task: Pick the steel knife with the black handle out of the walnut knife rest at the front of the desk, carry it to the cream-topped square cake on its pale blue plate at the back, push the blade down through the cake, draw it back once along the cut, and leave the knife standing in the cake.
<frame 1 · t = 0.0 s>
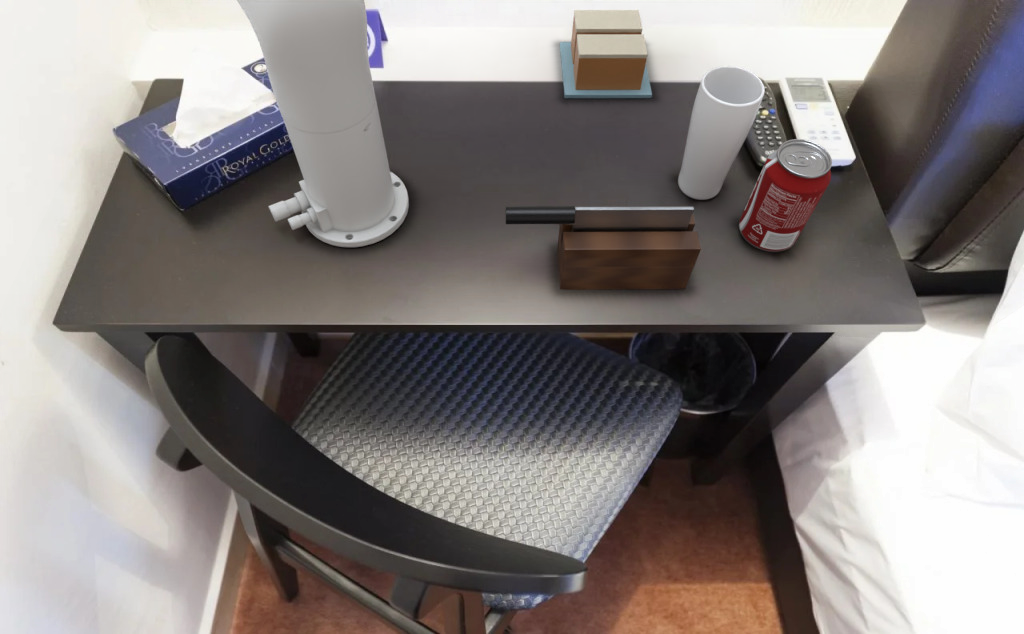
soda can: (765, 234, 79), on the table
knife: (625, 246, 72), point 4 cm above the table, touching knife rest
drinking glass: (697, 187, 83), on the table
cake: (604, 70, 95), on the table
knife rest: (620, 268, 75), on the table
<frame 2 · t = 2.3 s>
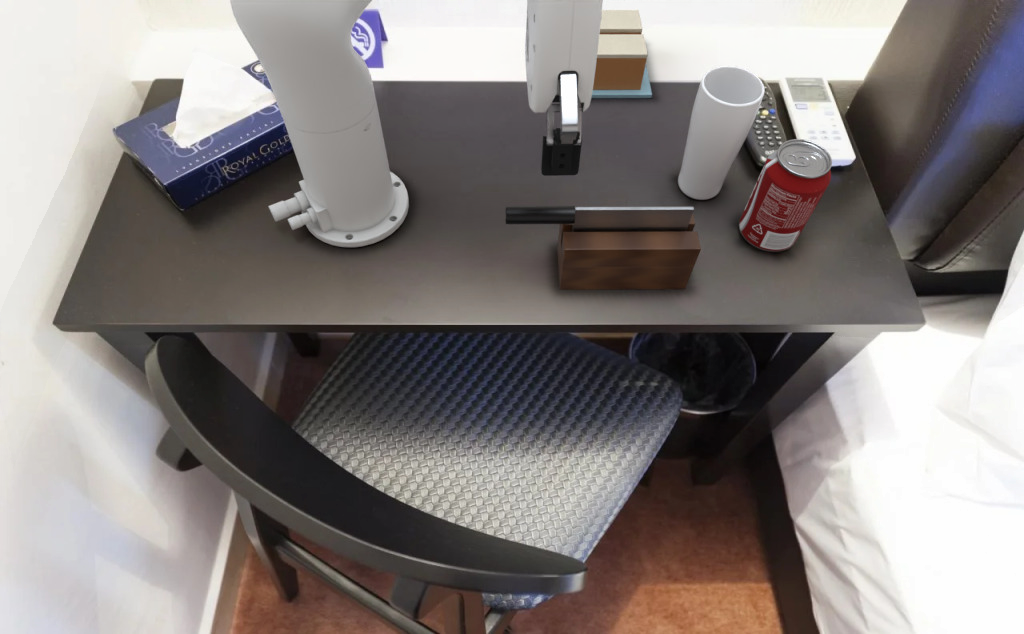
hand: (555, 135, 61), 18 cm above the table, tool pointing down, fingers open, 9 cm apart
nothing on the table moved.
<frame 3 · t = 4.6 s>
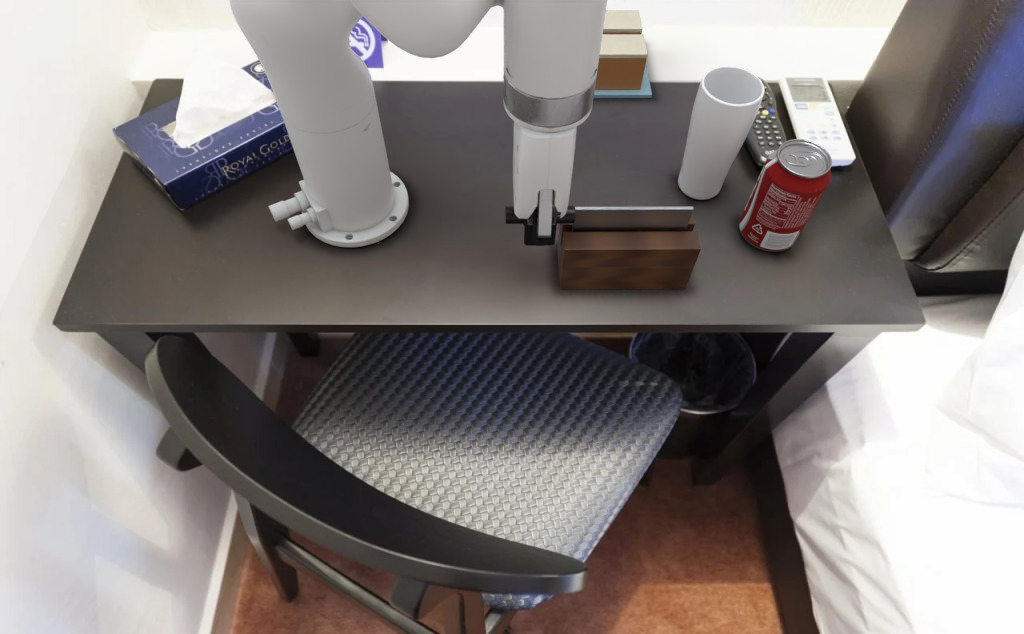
hand: (538, 233, 70), 6 cm above the table, tool pointing down, fingers closed on knife, 1 cm apart
knife: (625, 245, 72), point 4 cm above the table, touching gripper
everything else where it was.
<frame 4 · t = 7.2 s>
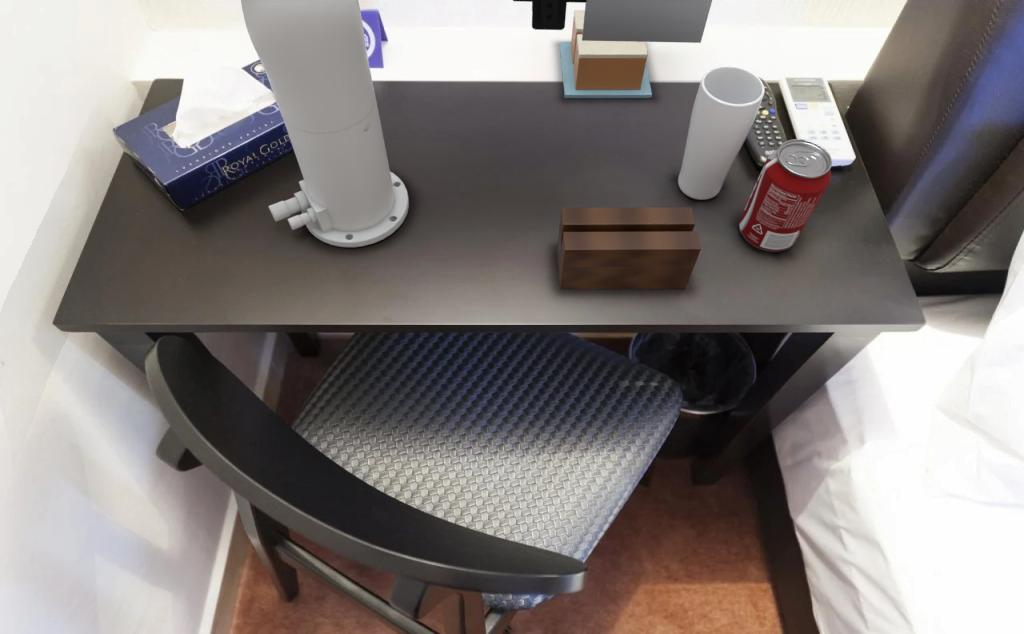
hand: (548, 19, 66), 21 cm above the table, tool pointing down, fingers closed on knife
knife: (641, 40, 67), point 19 cm above the table, touching gripper
everything else where it was.
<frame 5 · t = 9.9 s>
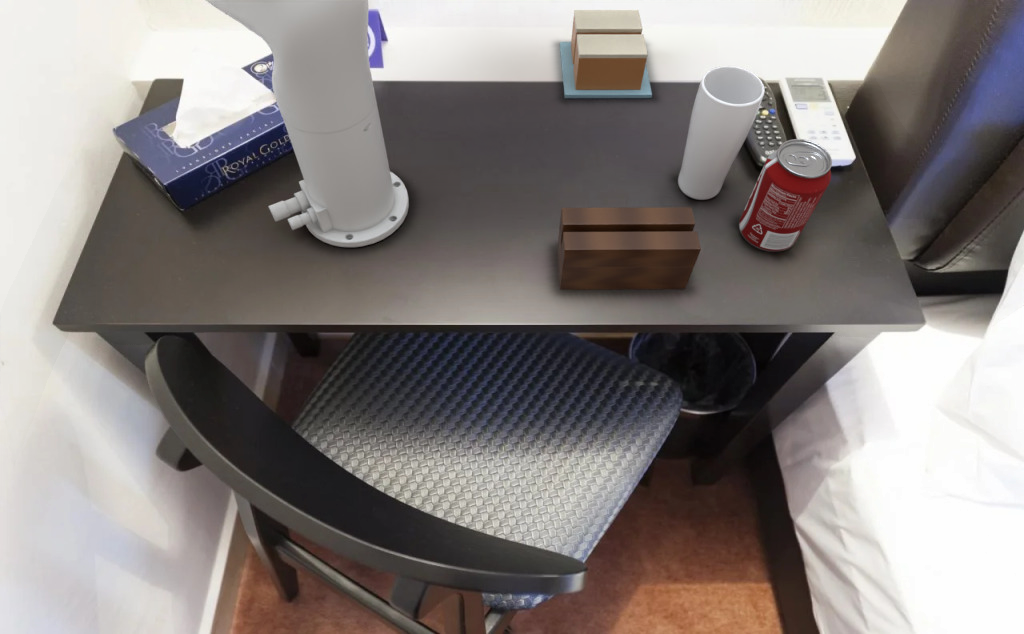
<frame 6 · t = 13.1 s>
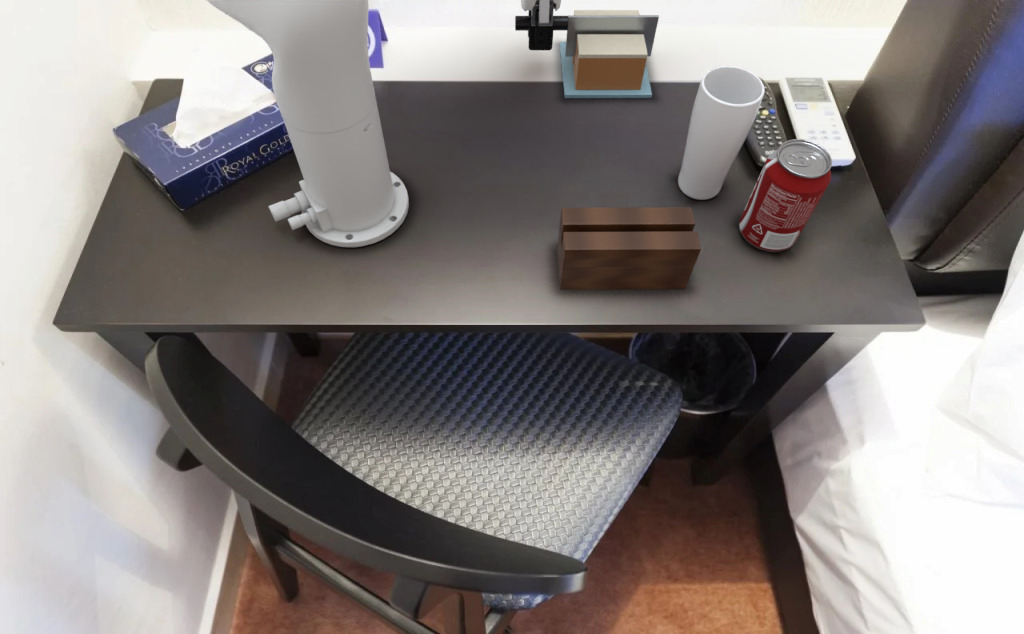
hand: (539, 42, 91), 4 cm above the table, tool pointing down, fingers closed on knife, 1 cm apart
knife: (607, 55, 93), point 2 cm above the table, touching gripper
everything else where it was.
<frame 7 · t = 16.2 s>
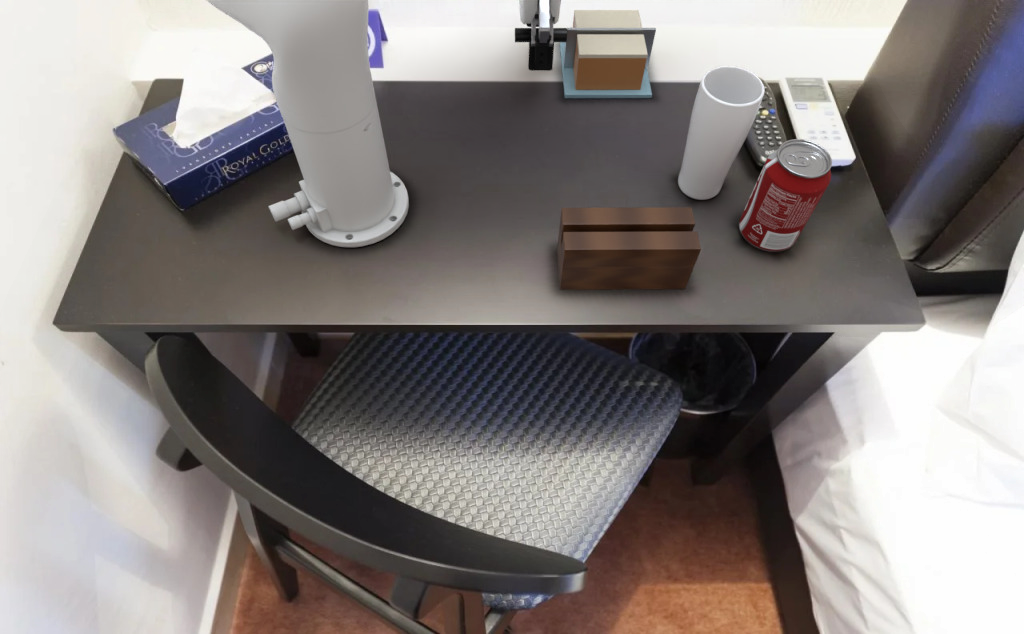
hand: (538, 46, 91), 4 cm above the table, tool pointing down, fingers open, 9 cm apart
knife: (605, 67, 94), point 1 cm above the table, touching cake
everything else where it was.
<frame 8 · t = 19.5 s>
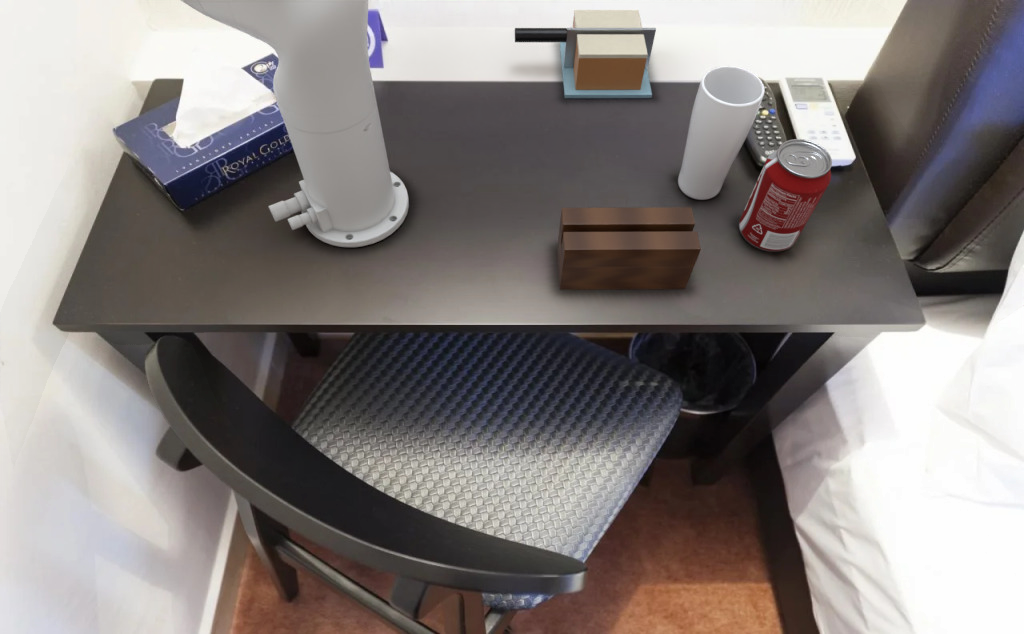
nothing on the table moved.
at the end: knife 0.2 cm off-centre on the cake, point 0.6 cm above the cake's base; the gripper is holding nothing; knife tilted 0° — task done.
